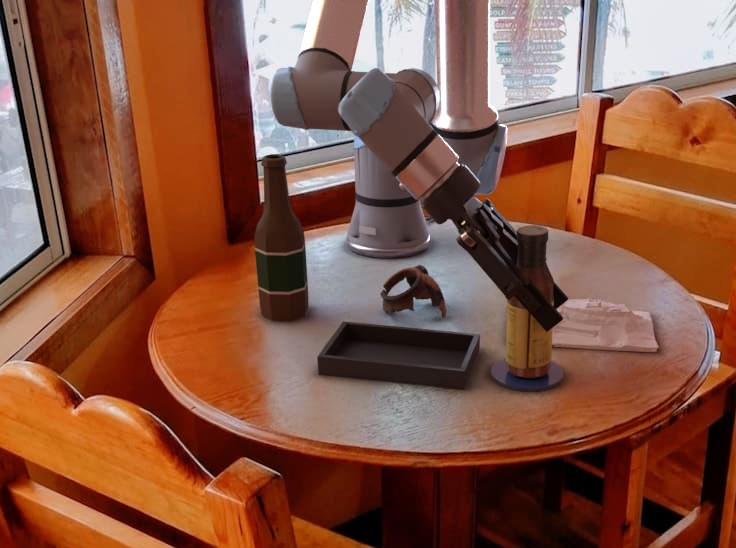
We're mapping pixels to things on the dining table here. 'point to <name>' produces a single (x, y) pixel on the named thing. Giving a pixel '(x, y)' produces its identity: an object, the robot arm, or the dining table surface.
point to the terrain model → (603, 327)
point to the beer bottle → (280, 249)
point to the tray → (400, 355)
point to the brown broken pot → (412, 290)
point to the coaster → (526, 384)
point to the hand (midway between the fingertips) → (557, 314)
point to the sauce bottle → (524, 333)
